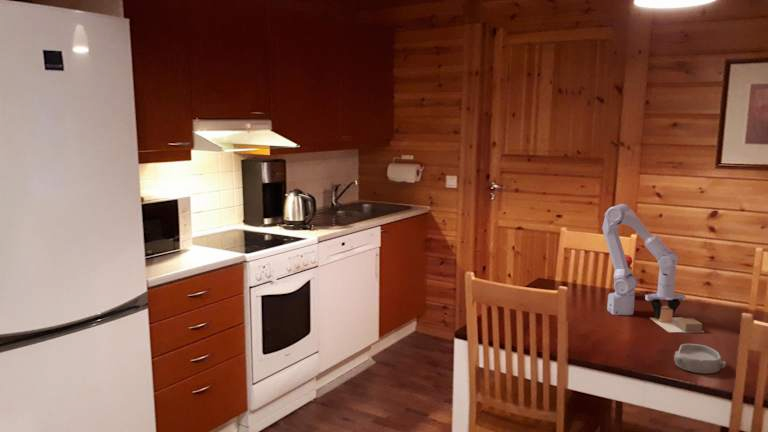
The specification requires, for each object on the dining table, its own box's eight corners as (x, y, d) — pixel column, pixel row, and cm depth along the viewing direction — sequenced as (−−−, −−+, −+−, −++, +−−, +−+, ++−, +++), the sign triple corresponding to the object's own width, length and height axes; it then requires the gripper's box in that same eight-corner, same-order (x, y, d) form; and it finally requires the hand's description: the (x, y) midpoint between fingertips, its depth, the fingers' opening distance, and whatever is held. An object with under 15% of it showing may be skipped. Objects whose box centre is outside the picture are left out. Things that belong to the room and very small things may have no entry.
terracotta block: (660, 322, 221) (661, 309, 220) (654, 318, 225) (655, 306, 225) (671, 322, 221) (673, 309, 220) (666, 318, 226) (667, 305, 225)
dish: (674, 371, 182) (675, 356, 181) (670, 354, 195) (671, 340, 194) (727, 379, 177) (729, 363, 176) (719, 361, 190) (721, 346, 189)
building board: (669, 335, 211) (670, 324, 210) (649, 320, 226) (649, 310, 226) (704, 334, 211) (705, 324, 211) (682, 319, 227) (683, 310, 226)
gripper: (652, 287, 217) (649, 322, 219) (691, 286, 217) (687, 321, 219) (643, 281, 224) (641, 315, 226) (681, 281, 224) (678, 315, 226)
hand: (663, 318), depth 223 cm, fingers closed on terracotta block, 4 cm apart
